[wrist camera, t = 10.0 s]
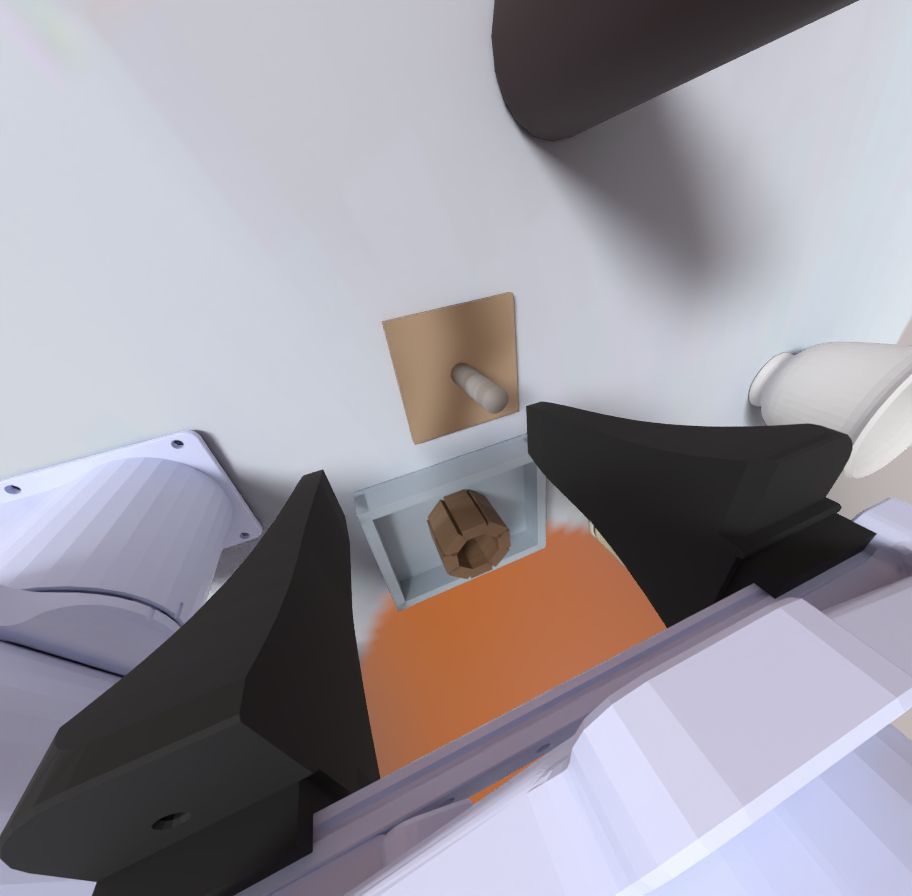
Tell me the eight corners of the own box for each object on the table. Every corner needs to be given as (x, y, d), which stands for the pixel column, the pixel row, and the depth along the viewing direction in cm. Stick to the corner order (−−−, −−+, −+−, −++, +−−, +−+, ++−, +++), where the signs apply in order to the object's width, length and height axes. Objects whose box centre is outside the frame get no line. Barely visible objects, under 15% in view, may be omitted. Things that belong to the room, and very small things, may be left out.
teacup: (756, 451, 41) (866, 499, 32) (706, 410, 33) (834, 459, 25) (833, 362, 37) (978, 391, 29) (798, 294, 29) (981, 307, 21)
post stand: (413, 441, 23) (437, 486, 18) (381, 321, 18) (403, 341, 14) (515, 408, 24) (560, 442, 20) (509, 292, 20) (564, 301, 16)
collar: (434, 549, 28) (450, 587, 24) (422, 504, 25) (438, 541, 22) (490, 527, 29) (512, 560, 26) (484, 481, 26) (508, 513, 23)
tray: (392, 586, 29) (398, 611, 27) (352, 493, 23) (356, 515, 21) (531, 528, 32) (545, 547, 30) (528, 433, 26) (546, 448, 24)
